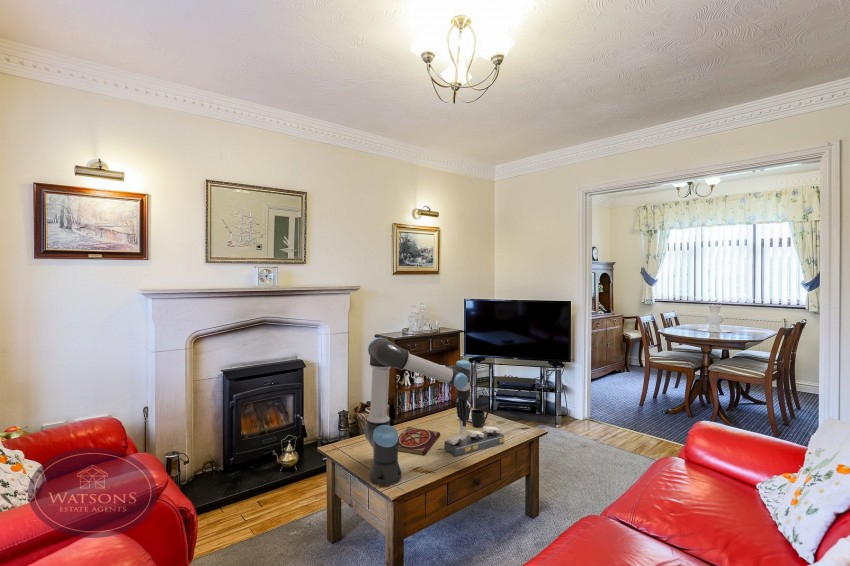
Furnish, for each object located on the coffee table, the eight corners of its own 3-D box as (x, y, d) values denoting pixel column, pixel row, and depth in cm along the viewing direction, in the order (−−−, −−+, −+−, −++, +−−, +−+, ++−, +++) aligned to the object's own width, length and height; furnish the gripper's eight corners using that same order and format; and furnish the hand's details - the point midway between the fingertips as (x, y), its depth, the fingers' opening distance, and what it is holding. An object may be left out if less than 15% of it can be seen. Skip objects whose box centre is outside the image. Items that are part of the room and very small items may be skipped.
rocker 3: (488, 434, 238) (489, 429, 238) (482, 431, 243) (483, 426, 243) (499, 435, 243) (501, 430, 243) (494, 432, 247) (495, 427, 247)
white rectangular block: (470, 439, 232) (472, 433, 232) (465, 435, 237) (466, 430, 237) (483, 439, 237) (484, 434, 237) (477, 436, 241) (478, 431, 241)
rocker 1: (453, 447, 226) (452, 442, 226) (448, 443, 231) (447, 438, 230) (466, 440, 231) (465, 434, 230) (461, 436, 235) (460, 431, 235)
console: (454, 457, 224) (455, 447, 224) (444, 449, 233) (444, 441, 233) (504, 443, 241) (504, 435, 241) (493, 437, 250) (493, 429, 250)
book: (424, 457, 226) (425, 448, 225) (388, 451, 232) (388, 442, 232) (440, 437, 253) (440, 429, 252) (407, 431, 259) (407, 423, 259)
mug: (491, 426, 267) (491, 411, 267) (475, 429, 262) (475, 414, 262) (484, 422, 275) (484, 407, 274) (468, 425, 270) (468, 410, 269)
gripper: (475, 391, 228) (475, 434, 229) (461, 385, 239) (461, 426, 240) (464, 393, 224) (464, 436, 225) (450, 387, 235) (450, 428, 236)
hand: (462, 431), depth 232 cm, fingers closed
